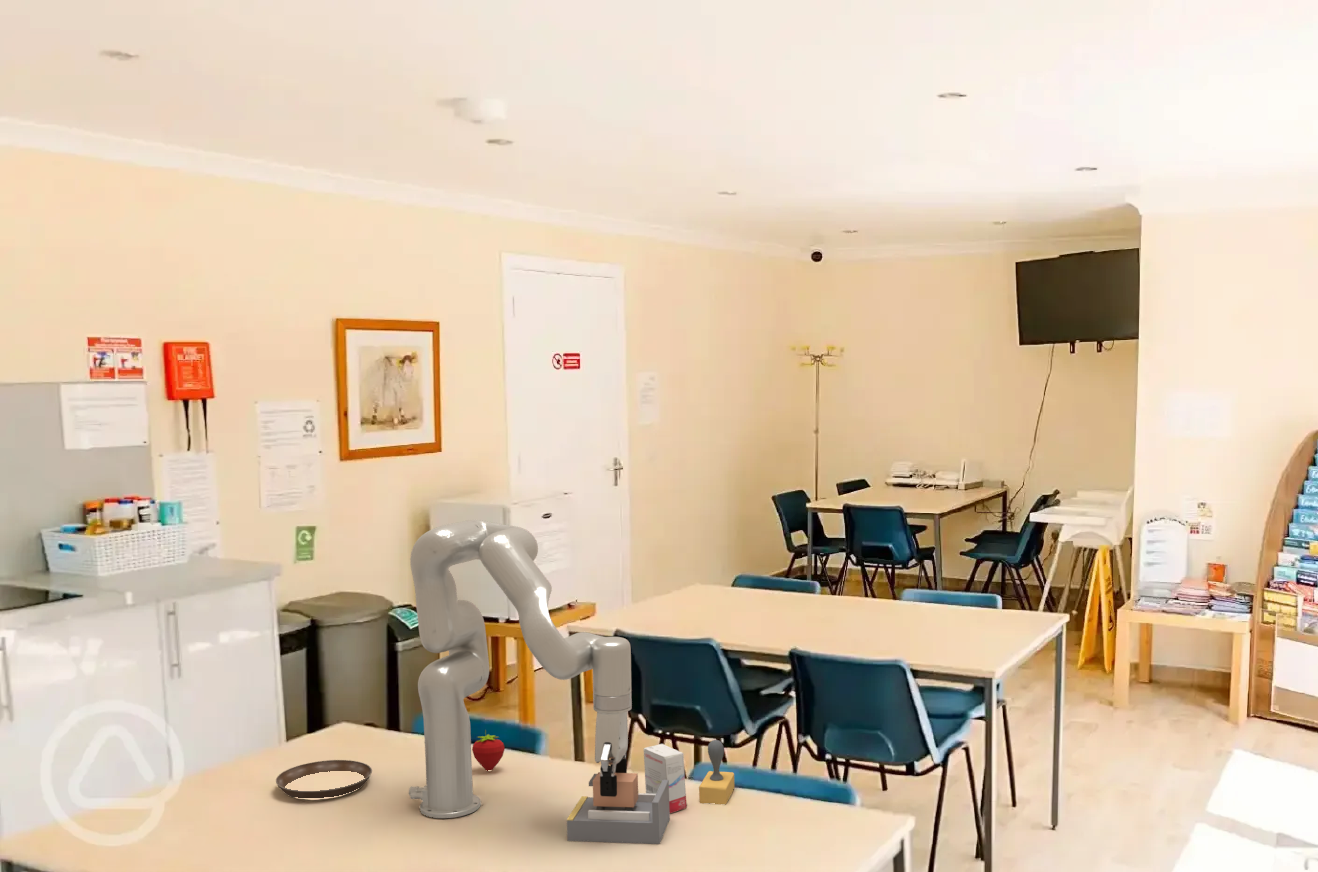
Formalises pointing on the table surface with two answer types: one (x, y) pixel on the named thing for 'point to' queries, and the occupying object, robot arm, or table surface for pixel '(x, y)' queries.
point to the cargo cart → (625, 792)
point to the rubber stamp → (716, 778)
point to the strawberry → (488, 751)
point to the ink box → (666, 774)
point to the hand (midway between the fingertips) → (613, 787)
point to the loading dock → (622, 820)
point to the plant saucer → (323, 767)
